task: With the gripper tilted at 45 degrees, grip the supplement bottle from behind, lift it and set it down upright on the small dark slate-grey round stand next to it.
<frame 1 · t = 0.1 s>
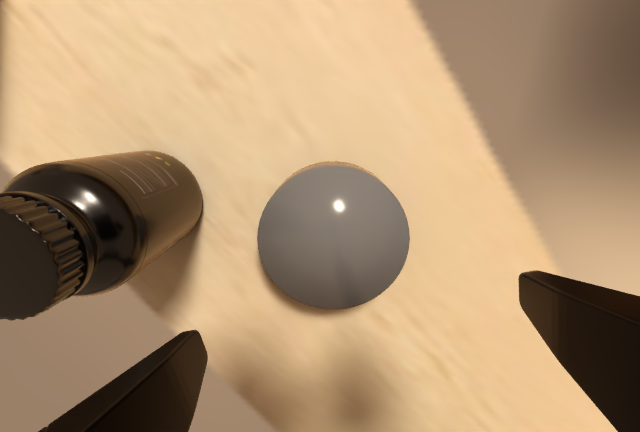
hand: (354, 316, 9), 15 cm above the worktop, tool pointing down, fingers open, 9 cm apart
supplement bottle: (161, 195, 23), on the worktop
stand: (332, 228, 23), on the worktop
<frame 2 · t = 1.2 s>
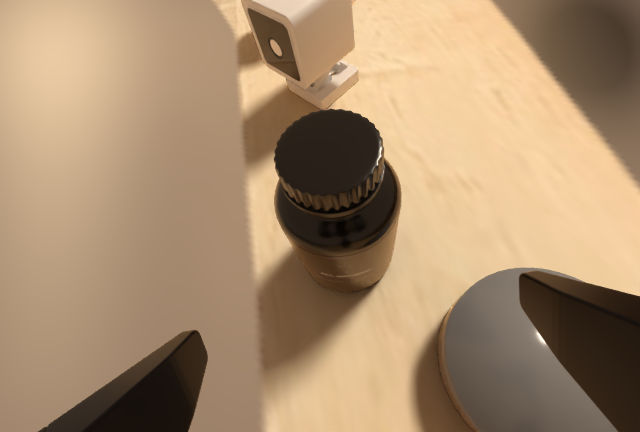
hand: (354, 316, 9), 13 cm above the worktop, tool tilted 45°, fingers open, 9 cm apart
supplement bottle: (348, 250, 24), on the worktop
stand: (526, 364, 18), on the worktop
security camera: (318, 90, 33), on the worktop
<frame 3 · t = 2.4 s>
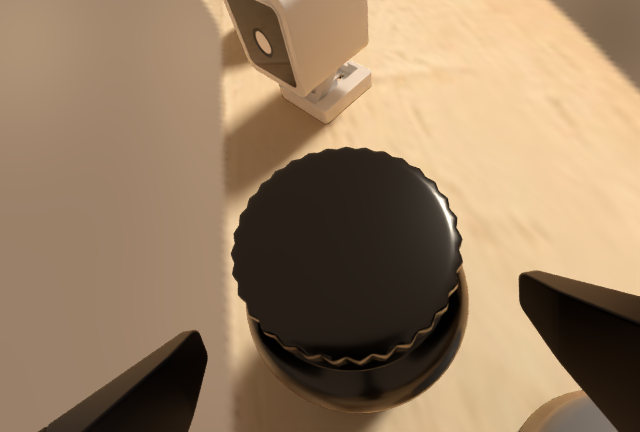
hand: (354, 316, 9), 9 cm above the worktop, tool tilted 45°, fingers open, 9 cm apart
supplement bottle: (362, 326, 17), on the worktop
security camera: (320, 97, 26), on the worktop
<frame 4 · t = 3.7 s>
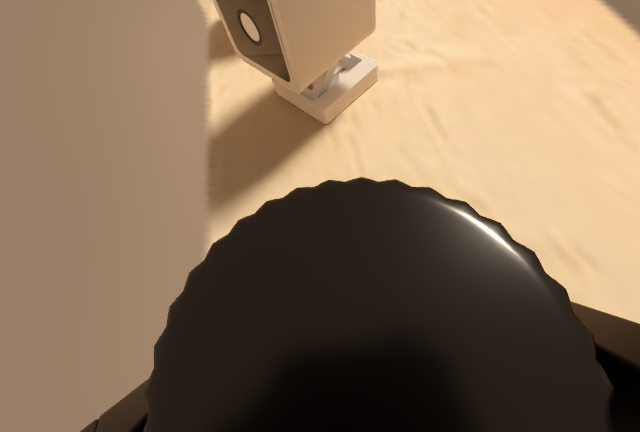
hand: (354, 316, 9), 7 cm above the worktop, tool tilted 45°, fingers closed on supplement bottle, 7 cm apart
supplement bottle: (370, 373, 14), on the worktop, touching gripper
security camera: (319, 94, 23), on the worktop
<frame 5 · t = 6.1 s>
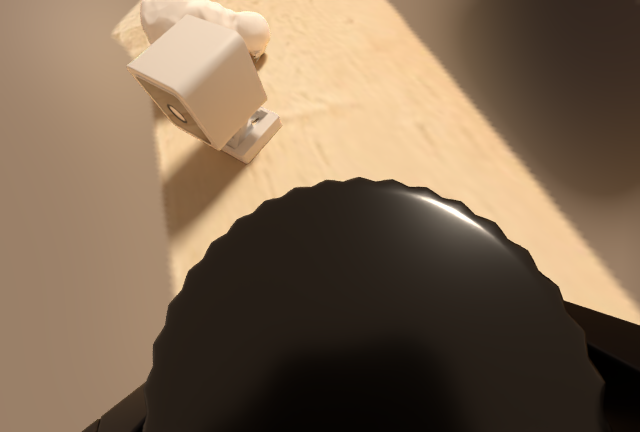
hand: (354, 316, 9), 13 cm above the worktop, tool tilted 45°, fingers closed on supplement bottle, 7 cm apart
supplement bottle: (366, 373, 14), point 6 cm above the worktop, touching gripper
white toy: (228, 66, 36), on the worktop
security camera: (241, 140, 30), on the worktop
when the fingers open (11 cm above the worktop, at t = 8.2 s): supplement bottle drops 1 cm, resting on stand.
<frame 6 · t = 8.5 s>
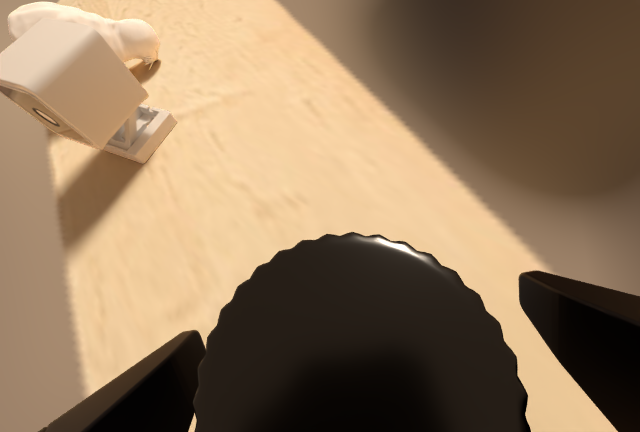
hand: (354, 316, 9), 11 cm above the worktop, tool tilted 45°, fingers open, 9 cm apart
supplement bottle: (365, 379, 15), point 3 cm above the worktop, touching stand
white toy: (124, 77, 36), on the worktop
security camera: (138, 142, 30), on the worktop
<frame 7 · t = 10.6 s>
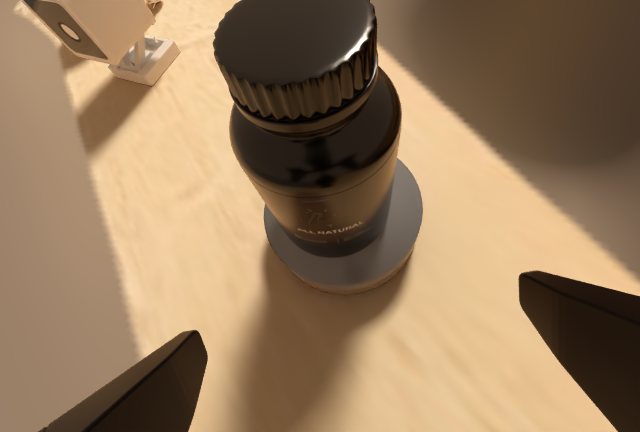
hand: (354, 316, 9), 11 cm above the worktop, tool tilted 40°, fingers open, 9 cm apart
supplement bottle: (335, 210, 20), point 3 cm above the worktop, touching stand
stand: (344, 224, 22), on the worktop
security camera: (145, 70, 34), on the worktop
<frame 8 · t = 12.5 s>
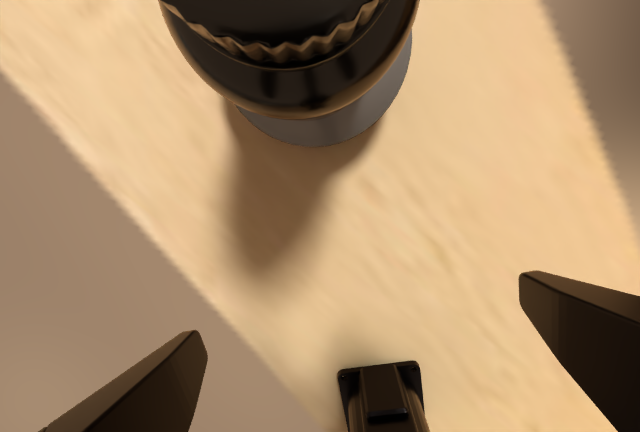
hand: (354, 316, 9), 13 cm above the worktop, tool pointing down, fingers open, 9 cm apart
supplement bottle: (306, 52, 16), point 3 cm above the worktop, touching stand
stand: (314, 57, 18), on the worktop
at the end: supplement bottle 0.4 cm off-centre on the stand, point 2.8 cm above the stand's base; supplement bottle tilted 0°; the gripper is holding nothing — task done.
